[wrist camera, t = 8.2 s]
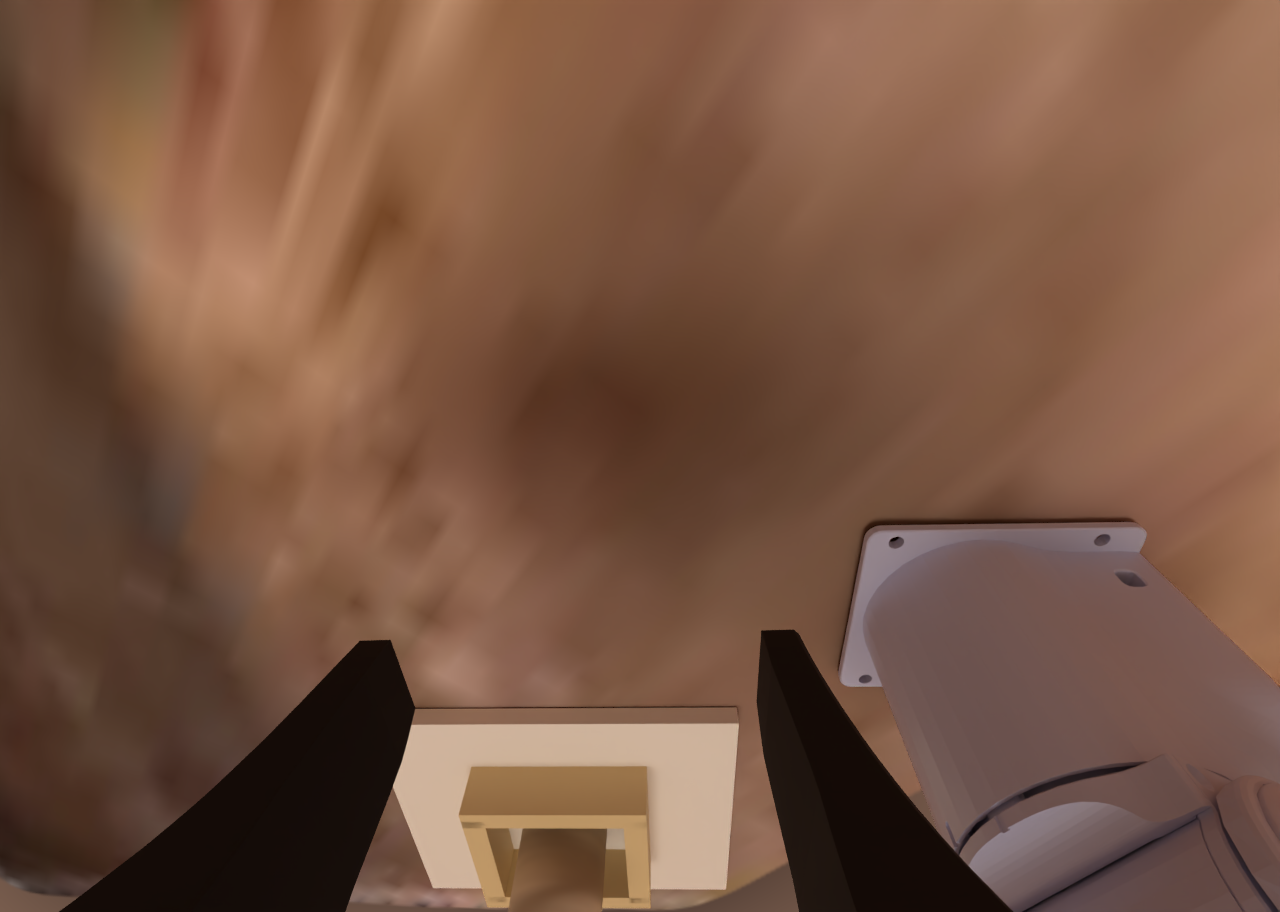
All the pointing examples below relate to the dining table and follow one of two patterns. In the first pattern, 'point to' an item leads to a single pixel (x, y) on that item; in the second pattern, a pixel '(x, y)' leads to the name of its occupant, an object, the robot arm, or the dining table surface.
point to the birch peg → (559, 870)
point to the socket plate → (572, 793)
